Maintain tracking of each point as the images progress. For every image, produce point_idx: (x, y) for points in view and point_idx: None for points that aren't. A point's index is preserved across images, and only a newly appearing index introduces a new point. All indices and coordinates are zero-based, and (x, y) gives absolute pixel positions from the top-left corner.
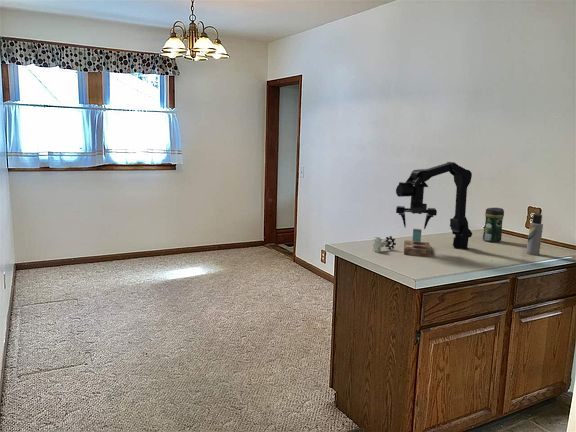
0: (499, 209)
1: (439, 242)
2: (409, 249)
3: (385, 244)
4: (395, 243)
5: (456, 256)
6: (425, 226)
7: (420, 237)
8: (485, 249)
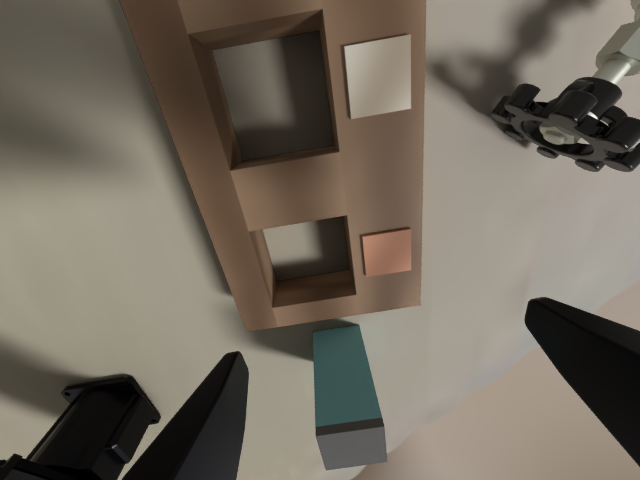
0: None
1: None
2: None
3: (627, 24)
4: (520, 96)
5: (8, 181)
6: (206, 387)
7: (316, 379)
8: (6, 427)
